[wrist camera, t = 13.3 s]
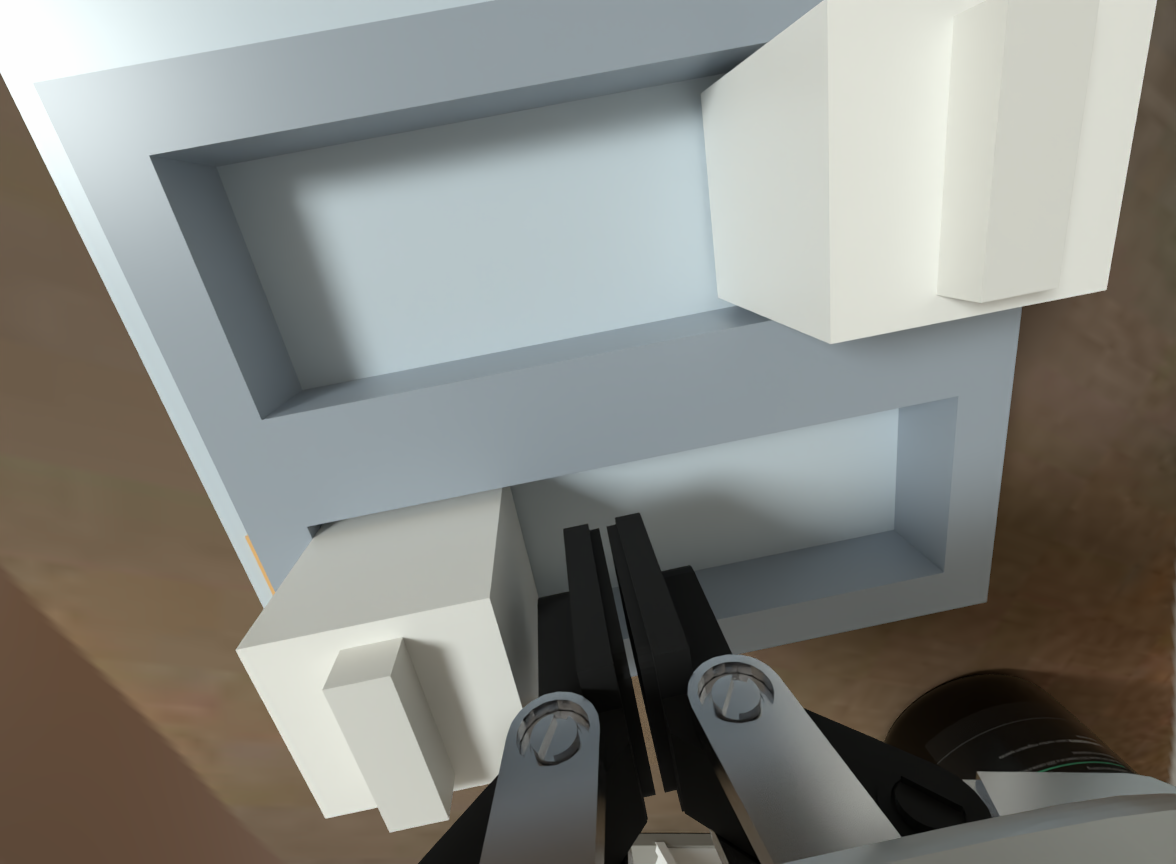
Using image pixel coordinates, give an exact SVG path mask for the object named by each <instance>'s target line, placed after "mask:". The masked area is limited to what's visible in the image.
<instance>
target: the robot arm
mask: <svg viewBox="0 0 1176 864" xmlns="http://www.w3.org/2000/svg"><path fill="white" fill-rule="evenodd" d="M615 523H616V524H615V525H611V526H606V527H607V532H608V537H609V542H610V547H611V552H612V557H613V562H614V567H615V571H616V576H617V581H618V586H619V591H620V596H621V601H622V606H623V611H624V616H625V621H626V625H627V630H628V635H629V639H630V644H631V648H632V652H633V657H634V661H635V665H636V670H637V674H638V678H639V683H640V687H641V691H642V696H643V700H644V704H645V709H646V713H647V717H648V722H649V726H650V730H651V735H652V739H653V743H654V748H655V752H656V756H657V761H658V765H659V769H660V774H661V778H662V782H663V787H664V791H665V792H669V791H674V790H677V793H678V797H679V801H680V805H681V809H682V812H683V811H685V814H687V815H689V816H690V817H692V818H693V819H695V820H696V821H698V822H700V823H701V824H703V825H704V826H706V827H707V828H709V830H710V834H711V838H712V841H713V844H714V847H715V849H716V851H717V853H718V856H719V858H720V860H721V862H722V864H1176V787H1175V786H1173V785H1170V784H1168V783H1165V782H1163V781H1160V780H1157V779H1155V778H1152V777H1149V776H1142V775H1136V774H1129V773H1070V772H978V771H977V774H976V780H962V779H960V778H959V777H958V776H956V775H955V774H953V773H951V772H949V771H947V770H945V769H944V768H942V767H940V766H938V765H936V764H933V763H931V762H929V761H926V760H924V759H922V758H919V757H917V756H915V755H912V754H910V753H908V752H905V751H903V750H901V749H898V748H896V747H894V746H891V745H889V744H886V743H884V742H882V741H879V740H877V739H875V738H872V737H870V736H868V735H865V734H863V733H861V732H858V731H856V730H854V729H851V728H849V727H847V726H844V725H842V724H840V723H837V722H835V721H832V720H830V719H828V718H825V717H823V716H821V715H818V714H816V713H814V712H811V711H809V710H807V709H804V708H803V707H802V706H801V705H800V703H799V702H798V701H797V699H796V698H795V697H794V696H793V694H792V693H791V692H790V690H789V689H788V688H787V686H786V685H785V684H784V682H783V681H782V680H781V678H780V677H779V676H778V675H777V674H776V673H775V672H774V671H773V670H772V669H771V668H770V667H769V666H768V665H766V664H764V663H763V662H761V661H759V660H757V659H755V658H751V657H748V656H744V655H733V654H732V652H731V650H730V648H729V646H728V644H727V641H726V639H725V637H724V635H723V633H722V630H721V628H720V626H719V624H718V622H717V620H716V617H715V615H714V613H713V611H712V609H711V607H710V604H709V602H708V600H707V598H706V596H705V594H704V591H703V589H702V587H701V585H700V583H699V581H698V578H697V576H696V574H695V572H694V570H693V568H692V566H690V565H688V566H683V567H679V568H674V569H669V570H665V571H661V569H660V566H659V563H658V561H657V558H656V555H655V553H654V550H653V547H652V544H651V542H650V539H649V536H648V534H647V531H646V528H645V525H644V523H643V520H642V517H641V515H640V513H634V514H629V515H625V516H620V517H615ZM563 534H564V545H565V555H566V565H567V576H568V586H569V591H568V592H563V593H559V594H554V595H549V596H545V597H540V598H538V604H537V609H538V698H537V699H535V700H533V701H531V702H530V703H529V704H527V705H526V706H525V707H524V708H523V709H521V710H520V711H519V713H518V714H517V716H516V717H515V718H514V720H513V721H512V723H511V725H510V728H509V731H508V733H507V737H506V741H505V746H504V751H503V756H502V760H501V765H500V770H499V774H498V775H497V776H496V778H495V779H494V780H493V781H492V782H491V783H490V784H489V785H488V786H487V788H486V789H485V790H484V791H483V792H482V793H481V794H480V795H479V796H478V798H477V799H476V800H475V801H474V802H473V803H472V804H471V805H470V806H469V808H468V809H467V810H466V811H465V812H464V813H463V814H462V815H461V816H460V818H459V819H458V820H457V821H456V822H455V823H454V824H453V825H452V826H451V828H450V829H449V830H448V831H447V832H446V833H445V834H444V835H443V836H442V838H441V839H440V840H439V841H438V842H437V843H436V844H435V845H434V846H433V848H432V849H431V850H430V851H429V852H428V853H427V854H426V855H425V856H424V858H423V859H422V860H421V861H420V862H419V863H418V864H633V856H632V850H631V847H632V845H633V843H634V842H635V840H636V839H637V837H638V835H639V834H640V832H641V831H642V829H643V828H644V826H645V824H646V823H647V820H648V818H647V813H646V808H645V802H644V797H647V796H652V795H656V794H655V789H654V784H653V780H652V775H651V770H650V765H649V761H648V756H647V751H646V746H645V742H644V737H643V732H642V727H641V722H640V718H639V713H638V708H637V703H636V699H635V694H634V689H633V684H632V679H631V675H630V670H629V665H628V660H627V656H626V651H625V646H624V642H623V637H622V632H621V628H620V623H619V618H618V614H617V609H616V604H615V600H614V595H613V590H612V586H611V581H610V576H609V572H608V567H607V563H606V558H605V553H604V549H603V544H602V539H601V535H600V530H599V528H597V529H592V530H589V526H588V524H583V525H578V526H574V527H569V528H564V529H563Z"/></svg>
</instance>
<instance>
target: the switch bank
mask: <svg viewBox="0 0 1176 864" xmlns="http://www.w3.org/2000/svg"><path fill="white" fill-rule="evenodd" d="M822 1H823V0H0V73H1V75H2V77H3V79H4V81H5V83H6V85H7V87H8V89H9V91H10V93H11V95H12V97H13V99H14V101H15V103H16V105H17V107H18V109H19V111H20V113H21V115H22V117H23V119H24V121H25V123H26V126H27V128H28V130H29V132H30V134H31V136H32V138H33V140H34V142H35V144H36V146H37V148H38V150H39V152H40V154H41V156H42V158H43V160H44V162H45V164H46V166H47V168H48V170H49V172H50V174H51V176H52V178H53V180H54V182H55V184H56V187H57V189H58V191H59V193H60V195H61V197H62V199H63V201H64V203H65V205H66V207H67V209H68V211H69V213H70V215H71V217H72V219H73V221H74V223H75V225H76V227H77V229H78V231H79V233H80V235H81V237H82V239H83V241H84V243H85V246H86V248H87V250H88V252H89V254H90V256H91V258H92V260H93V262H94V264H95V266H96V268H97V270H98V272H99V274H100V276H101V278H102V280H103V282H104V284H105V286H106V288H107V290H108V292H109V294H110V296H111V298H112V300H113V302H114V305H115V307H116V309H117V311H118V313H119V315H120V317H121V319H122V321H123V323H124V325H125V327H126V329H127V331H128V333H129V335H130V337H131V339H132V341H133V343H134V345H135V347H136V349H137V351H138V353H139V355H140V357H141V359H142V361H143V364H144V366H145V368H146V370H147V372H148V374H149V376H150V378H151V380H152V382H153V384H154V386H155V388H156V390H157V392H158V394H159V396H160V398H161V400H162V402H163V404H164V406H165V408H166V410H167V412H168V414H169V416H170V418H171V420H172V423H173V425H174V427H175V429H176V431H177V433H178V435H179V437H180V439H181V441H182V443H183V445H184V447H185V449H186V451H187V453H188V455H189V457H190V459H191V461H192V463H193V465H194V467H195V469H196V471H197V473H198V475H199V477H200V479H201V482H202V484H203V486H204V488H205V490H206V492H207V494H208V496H209V498H210V500H211V502H212V504H213V506H214V508H215V510H216V512H217V514H218V516H219V518H220V520H221V522H222V524H223V526H224V528H225V530H226V532H227V534H228V536H229V538H230V541H231V543H232V545H233V547H234V549H235V551H236V553H237V555H238V557H239V559H240V561H241V563H242V565H243V567H244V569H245V571H246V573H247V575H248V577H249V579H250V581H251V583H252V585H253V587H254V589H255V591H256V593H257V595H258V597H259V599H260V602H261V604H262V606H263V608H265V607H266V605H267V604H268V602H269V601H270V599H271V598H272V597H273V595H274V594H275V592H276V591H277V589H278V588H279V587H280V585H281V584H282V582H283V581H284V579H285V578H286V576H287V575H288V574H289V572H290V571H291V569H292V568H293V566H294V565H295V563H296V562H297V561H298V559H299V558H300V556H301V555H302V553H303V552H304V550H305V549H306V548H307V546H308V545H309V543H310V542H311V540H312V539H313V537H314V536H315V535H316V533H317V532H318V530H319V529H320V527H321V526H322V524H323V523H328V522H333V521H338V520H343V519H348V518H353V517H358V516H363V515H368V514H373V513H378V512H383V511H388V510H393V509H398V508H403V507H408V506H413V505H418V504H423V503H428V502H433V501H438V500H443V499H448V498H453V497H458V496H463V495H468V494H473V493H478V492H483V491H488V490H493V489H498V488H503V487H508V486H510V488H511V492H512V496H513V500H514V504H515V508H516V512H517V515H518V519H519V523H520V527H521V531H522V535H523V539H524V543H525V547H526V550H527V554H528V558H529V562H530V566H531V570H532V574H533V578H534V582H535V586H536V589H537V593H538V597H539V598H540V597H545V596H549V595H554V594H559V593H563V592H568V591H569V586H568V576H567V565H566V555H565V545H564V534H563V529H564V528H569V527H574V526H578V525H583V524H588V526H589V530H592V529H597V528H599V530H600V535H601V539H602V544H603V549H604V553H605V558H606V563H607V567H608V572H609V576H610V581H611V586H612V590H613V595H614V600H615V604H616V609H617V614H618V618H619V623H620V628H621V632H622V637H623V642H624V646H625V651H626V656H627V660H628V665H629V670H630V675H631V677H632V676H637V675H638V674H637V670H636V665H635V661H634V657H633V652H632V648H631V644H630V639H629V635H628V630H627V625H626V621H625V616H624V611H623V606H622V601H621V596H620V591H619V586H618V581H617V576H616V571H615V567H614V562H613V557H612V552H611V547H610V542H609V537H608V532H607V527H606V526H611V525H615V524H616V523H615V517H620V516H625V515H629V514H634V513H640V515H641V517H642V520H643V523H644V525H645V528H646V531H647V534H648V536H649V539H650V542H651V544H652V547H653V550H654V553H655V555H656V558H657V561H658V563H659V566H660V569H661V571H665V570H669V569H674V568H679V567H683V566H688V565H690V566H692V568H693V570H694V572H695V574H696V576H697V578H698V581H699V583H700V585H701V587H702V589H703V591H704V594H705V596H706V598H707V600H708V602H709V604H710V607H711V609H712V611H713V613H714V615H715V617H716V620H717V622H718V624H719V626H720V628H721V630H722V633H723V635H724V637H725V639H726V641H727V644H728V646H729V648H730V650H731V652H732V654H733V655H737V654H741V653H746V652H751V651H756V650H761V649H765V648H770V647H775V646H780V645H784V644H789V643H794V642H799V641H803V640H808V639H813V638H818V637H822V636H827V635H832V634H837V633H841V632H846V631H851V630H856V629H861V628H865V627H870V626H875V625H880V624H884V623H889V622H894V621H899V620H903V619H908V618H913V617H918V616H922V615H927V614H932V613H937V612H941V611H946V610H951V609H956V608H961V607H965V606H970V605H975V604H980V603H984V602H987V596H988V587H989V579H990V571H991V562H992V554H993V545H994V537H995V529H996V520H997V512H998V504H999V495H1000V487H1001V478H1002V470H1003V462H1004V453H1005V445H1006V437H1007V428H1008V420H1009V411H1010V403H1011V395H1012V386H1013V378H1014V370H1015V361H1016V353H1017V344H1018V336H1019V328H1020V319H1021V311H1022V307H1017V308H1012V309H1007V310H1002V311H997V312H992V313H987V314H981V315H976V316H971V317H966V318H961V319H956V320H951V321H946V322H941V323H936V324H931V325H926V326H921V327H916V328H910V329H905V330H900V331H895V332H890V333H885V334H880V335H875V336H870V337H865V338H860V339H855V340H850V341H844V342H839V343H834V344H829V343H827V342H824V341H822V340H819V339H817V338H814V337H812V336H810V335H807V334H805V333H802V332H800V331H798V330H795V329H793V328H790V327H788V326H785V325H783V324H781V323H778V322H776V321H773V320H771V319H769V318H766V317H764V316H761V315H759V314H756V313H754V312H752V311H749V310H747V309H744V308H742V307H739V306H737V305H735V304H732V303H730V302H727V301H725V300H723V299H720V298H718V293H717V281H716V270H715V258H714V246H713V234H712V222H711V211H710V199H709V187H708V175H707V164H706V152H705V140H704V128H703V117H702V105H701V93H702V92H703V91H705V90H706V89H707V88H709V87H710V86H711V85H712V84H714V83H715V82H716V81H718V80H719V79H720V78H722V77H723V76H724V75H726V74H727V73H728V72H730V71H731V70H732V69H734V68H735V67H736V66H737V65H739V64H740V63H741V62H743V61H744V60H745V59H747V58H748V57H749V56H751V55H752V54H753V53H755V52H756V51H757V50H759V49H760V48H761V47H762V46H764V45H765V44H766V43H768V42H769V41H770V40H772V39H773V38H774V37H776V36H777V35H778V34H780V33H781V32H782V31H784V30H785V29H786V28H788V27H789V26H790V25H791V24H793V23H794V22H795V21H797V20H798V19H799V18H801V17H802V16H803V15H805V14H806V13H807V12H809V11H810V10H811V9H813V8H814V7H815V6H816V5H818V4H819V3H820V2H822Z"/></svg>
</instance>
